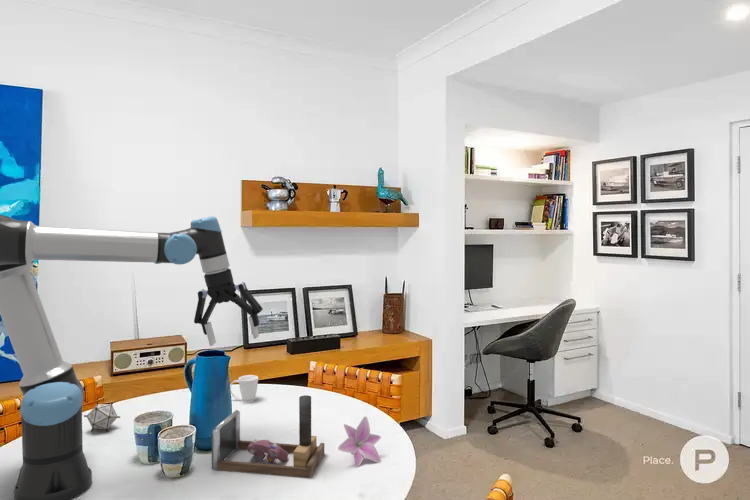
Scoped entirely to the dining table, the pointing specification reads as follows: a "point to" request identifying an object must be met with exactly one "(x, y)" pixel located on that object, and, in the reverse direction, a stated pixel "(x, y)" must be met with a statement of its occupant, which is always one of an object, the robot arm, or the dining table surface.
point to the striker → (304, 434)
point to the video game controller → (267, 451)
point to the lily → (361, 442)
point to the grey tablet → (225, 438)
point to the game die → (102, 416)
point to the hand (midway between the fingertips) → (234, 340)
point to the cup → (247, 388)
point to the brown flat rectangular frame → (275, 469)
